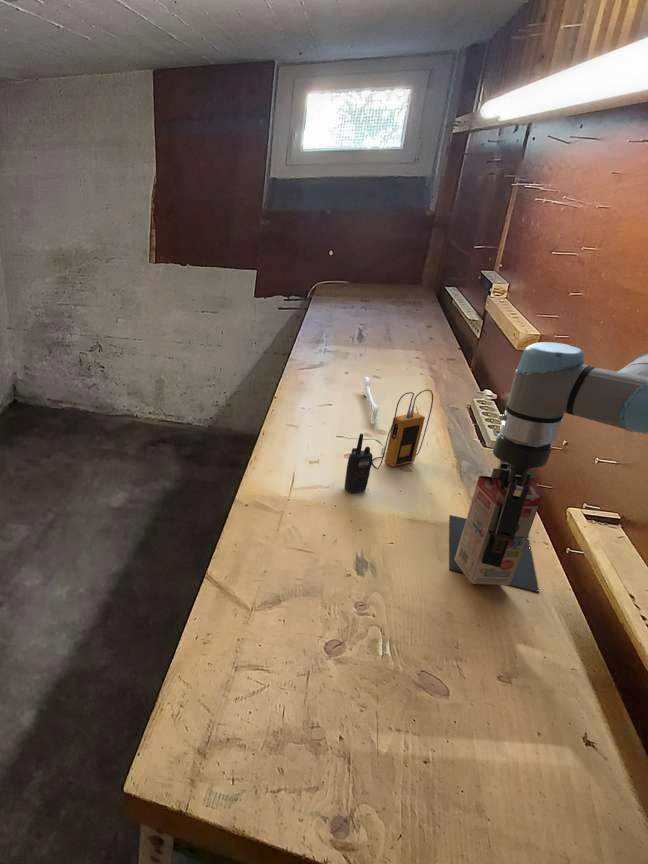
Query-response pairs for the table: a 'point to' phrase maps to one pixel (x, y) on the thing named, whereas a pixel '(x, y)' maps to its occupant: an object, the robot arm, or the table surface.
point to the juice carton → (483, 520)
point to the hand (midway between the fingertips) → (489, 549)
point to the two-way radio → (358, 468)
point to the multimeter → (404, 436)
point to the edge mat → (523, 572)
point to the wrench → (370, 399)
